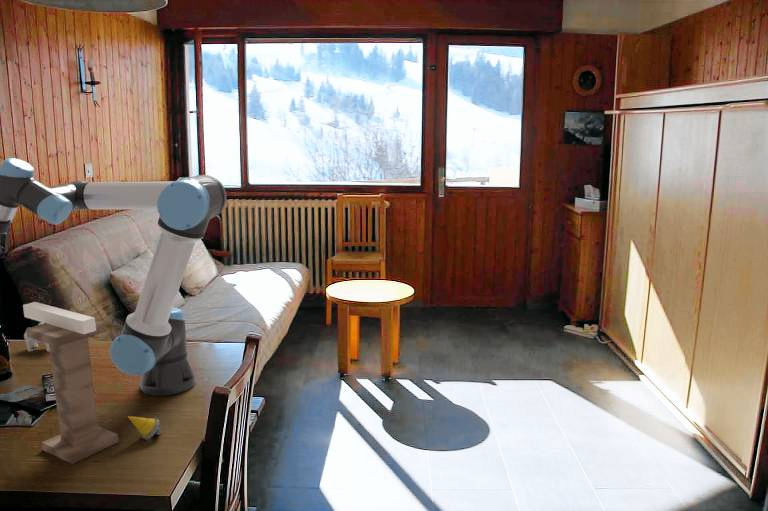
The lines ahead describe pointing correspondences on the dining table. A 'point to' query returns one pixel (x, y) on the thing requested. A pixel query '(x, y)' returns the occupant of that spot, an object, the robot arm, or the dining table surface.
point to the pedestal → (73, 393)
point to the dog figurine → (34, 341)
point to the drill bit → (146, 426)
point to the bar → (60, 317)
